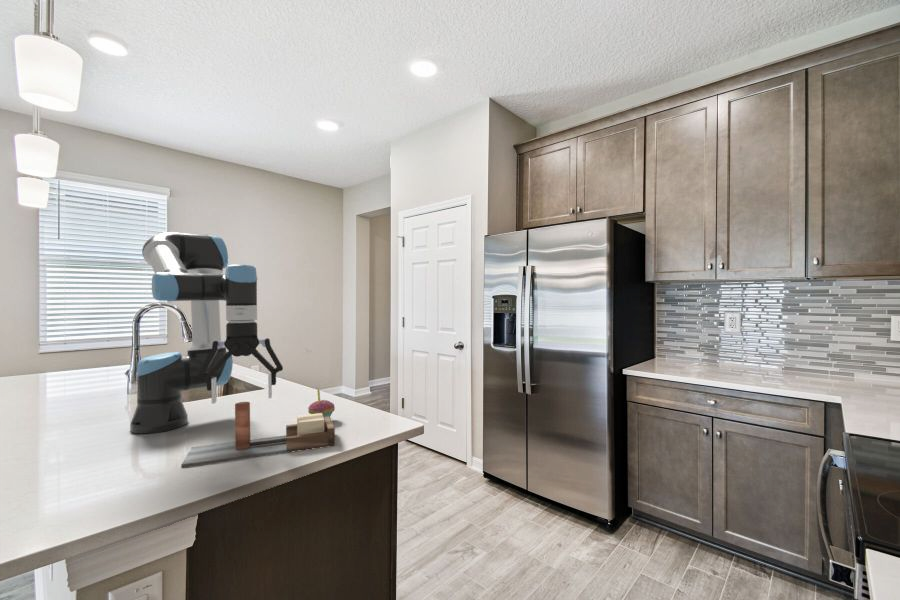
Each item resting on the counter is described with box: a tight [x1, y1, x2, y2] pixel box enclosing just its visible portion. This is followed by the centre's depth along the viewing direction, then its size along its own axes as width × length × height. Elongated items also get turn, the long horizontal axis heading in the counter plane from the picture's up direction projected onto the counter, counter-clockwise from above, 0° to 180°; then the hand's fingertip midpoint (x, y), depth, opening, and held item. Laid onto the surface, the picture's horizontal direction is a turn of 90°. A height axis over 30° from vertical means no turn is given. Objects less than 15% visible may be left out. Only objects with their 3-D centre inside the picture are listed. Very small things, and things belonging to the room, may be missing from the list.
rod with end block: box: [234, 401, 324, 450], centre depth 112 cm, size 7×23×12 cm, turn 113°
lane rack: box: [180, 416, 336, 468], centre depth 111 cm, size 12×37×5 cm, turn 113°
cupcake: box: [307, 388, 336, 418], centre depth 134 cm, size 9×8×12 cm
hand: (242, 399), depth 108 cm, fingers open, 13 cm apart
